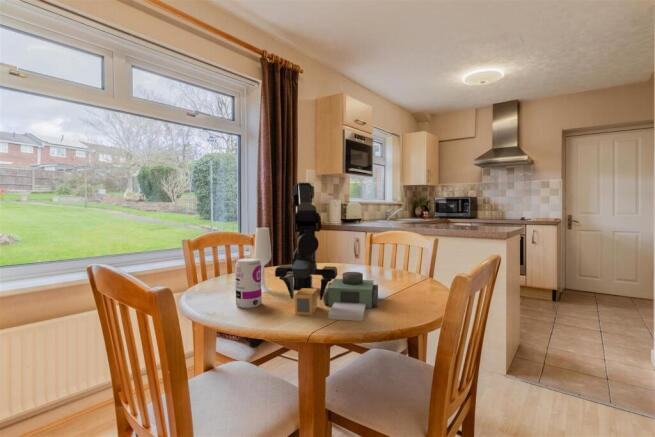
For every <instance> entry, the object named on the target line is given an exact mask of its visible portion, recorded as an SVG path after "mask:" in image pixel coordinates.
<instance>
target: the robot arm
mask: <svg viewBox="0 0 655 437" xmlns="http://www.w3.org/2000/svg"><path fill="white" fill-rule="evenodd" d="M290 191H291V199H293V204H294V206H295V212H293V228H294V229H293V231H294V233H295V232H296V233H297V234H296V248H295V250H294V252H293V257H292V258H291V264H280V265H279V266H277V267H276V268H275V270H274V277H276V278H278V279H279V280H282V281H283V282H284V284H285V286H286V288H287V290H288V291H287V292H288V293H289V296H290V298H291V299H294V297H295V296H294V295H295V293H294V292H295V291H300V290H301V289H302V288H310V289H312V288H313V276H321V279H320V292H319V300H320V301H323V298H324V291H325V288H327V286H328V285H329V283H331V282H332V281H333V280H334V279H337V276H338V268H337V267H336V266H327V265H326V266H324V267H322V268H318V264H317V261H316V256H317V252H316V251H317V250H318V248H319V240H318V238H317V237H316V235H317V234H316V232H317V233H319V232H321V230H322V217H321V215H320V213H319V212H318V211H317V208H316V205H314V204H313V200H314V198H315V186H313V185H312V184H311V182H296V184H294V185H293V186H291V190H290Z"/></svg>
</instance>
